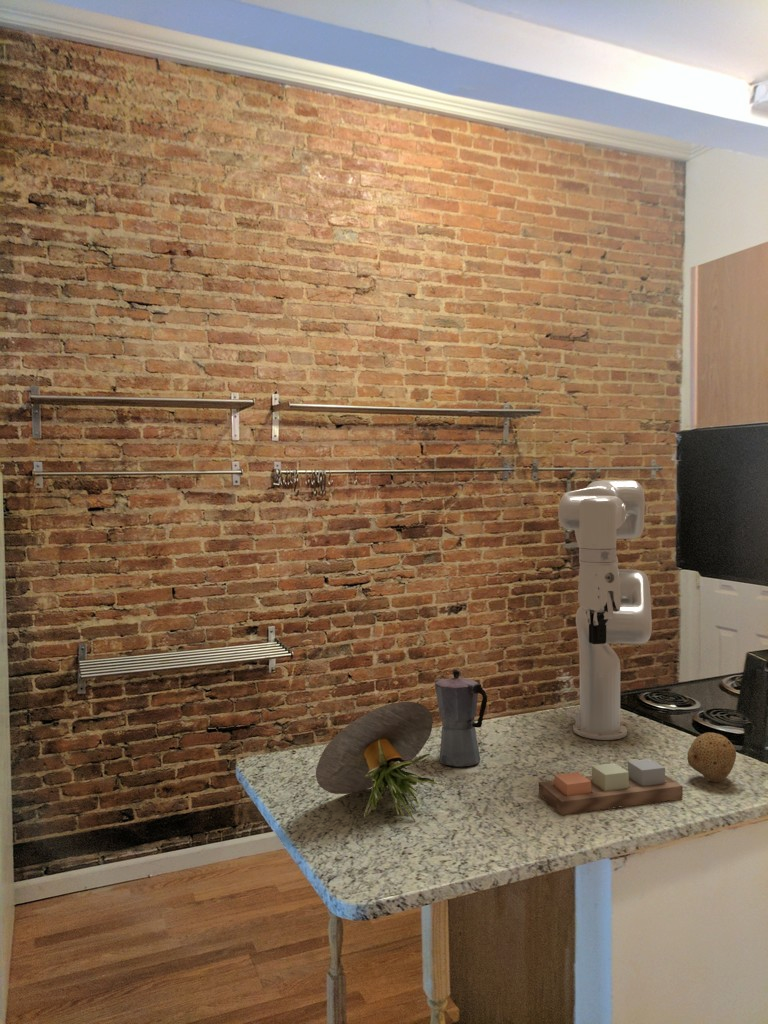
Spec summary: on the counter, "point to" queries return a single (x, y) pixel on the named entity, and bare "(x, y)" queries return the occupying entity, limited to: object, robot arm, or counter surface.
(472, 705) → the moka pot
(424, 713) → the potted plant
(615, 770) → the sage button
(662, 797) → the walnut panel
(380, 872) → the counter surface
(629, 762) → the slate button
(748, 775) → the counter surface
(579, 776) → the terracotta button
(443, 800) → the counter surface
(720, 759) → the natural sponge
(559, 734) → the counter surface
